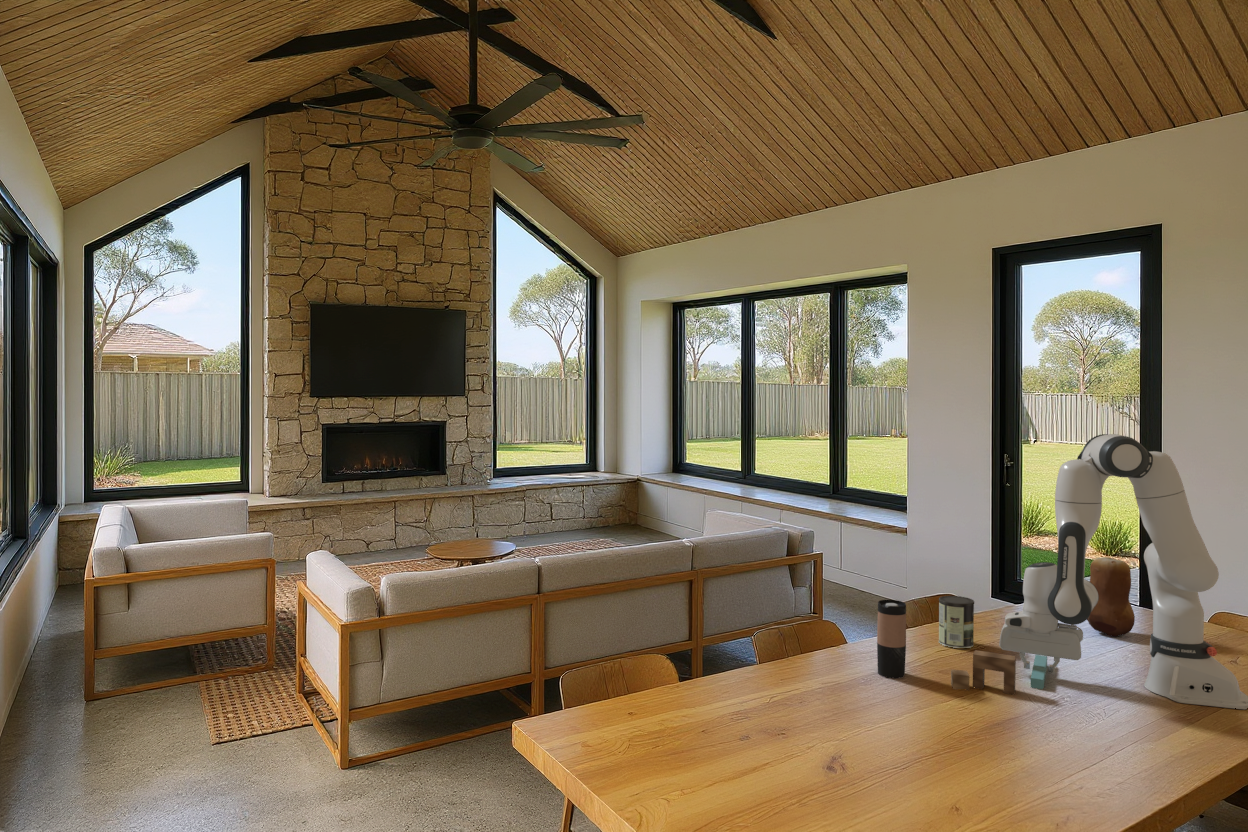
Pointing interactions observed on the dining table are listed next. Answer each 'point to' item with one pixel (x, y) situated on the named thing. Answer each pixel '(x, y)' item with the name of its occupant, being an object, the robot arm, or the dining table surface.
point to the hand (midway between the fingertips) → (1039, 670)
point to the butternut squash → (1111, 597)
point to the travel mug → (891, 638)
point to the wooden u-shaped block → (994, 668)
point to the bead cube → (959, 679)
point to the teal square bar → (1039, 672)
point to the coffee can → (956, 621)
